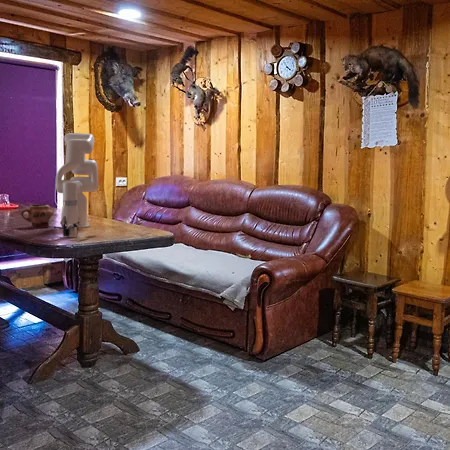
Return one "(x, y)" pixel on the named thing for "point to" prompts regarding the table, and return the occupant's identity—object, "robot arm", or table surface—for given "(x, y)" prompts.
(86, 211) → the robot arm
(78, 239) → the spatula
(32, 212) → the brown ceramic pot
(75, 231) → the saucepan
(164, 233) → the table surface
